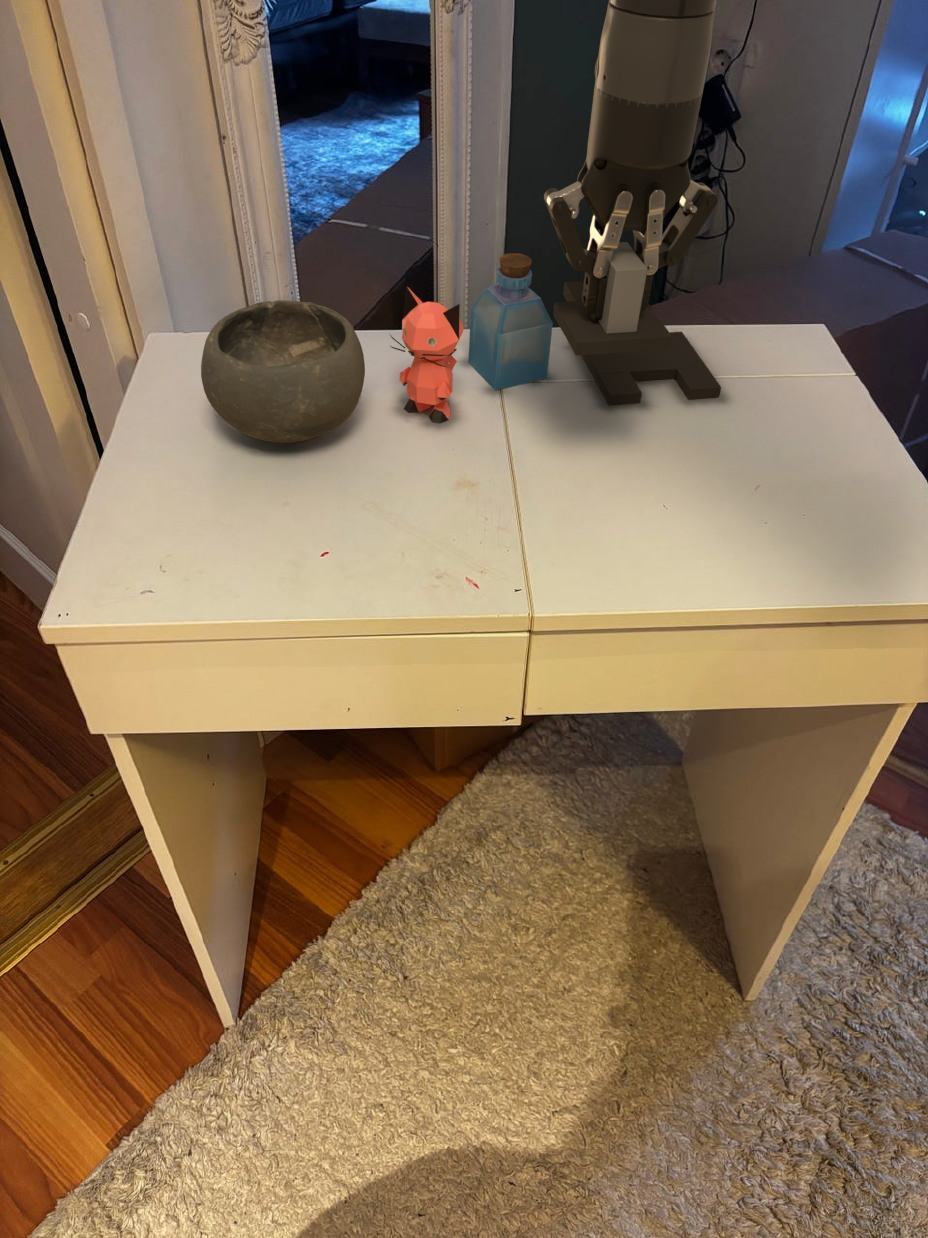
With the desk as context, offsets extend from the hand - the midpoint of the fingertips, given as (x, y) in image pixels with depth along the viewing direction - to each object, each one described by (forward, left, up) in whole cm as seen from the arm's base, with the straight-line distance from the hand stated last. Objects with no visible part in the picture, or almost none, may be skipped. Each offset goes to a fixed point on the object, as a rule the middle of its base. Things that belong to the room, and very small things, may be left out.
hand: (613, 313), depth 77 cm
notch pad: (+4, -19, -15) cm, 24 cm away
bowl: (+27, +12, -15) cm, 33 cm away
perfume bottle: (+16, -10, -15) cm, 24 cm away
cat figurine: (+18, +1, -15) cm, 23 cm away
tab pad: (+1, -1, -2) cm, 2 cm away
